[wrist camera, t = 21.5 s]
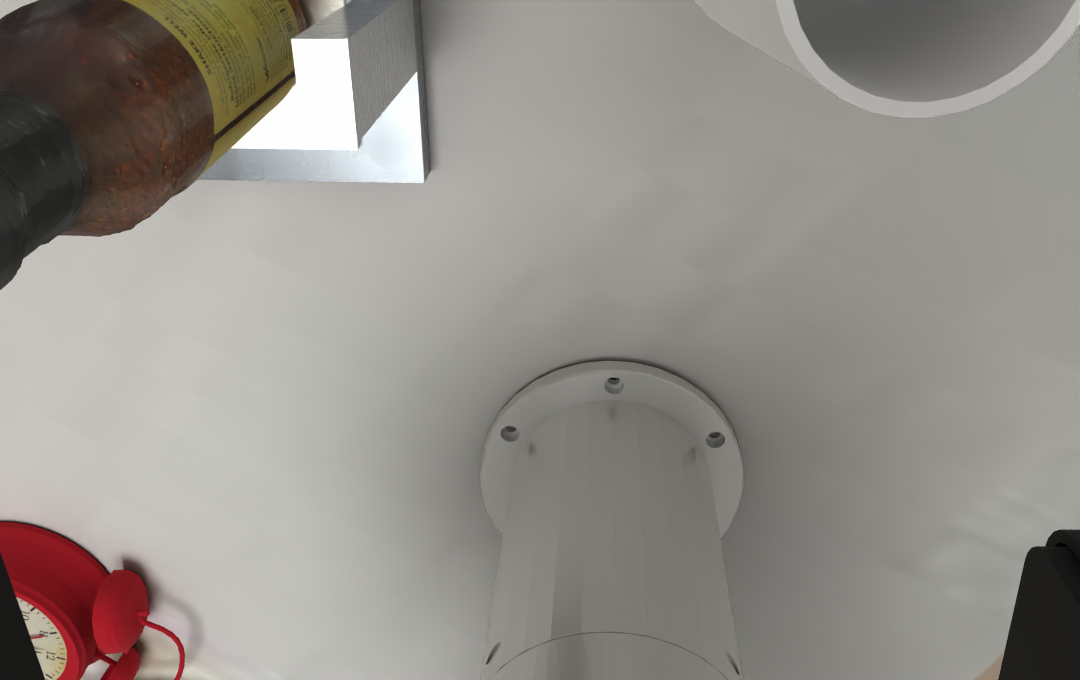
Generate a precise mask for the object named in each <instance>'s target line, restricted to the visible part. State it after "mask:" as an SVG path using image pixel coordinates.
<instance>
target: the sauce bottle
mask: <svg viewBox="0 0 1080 680" xmlns="http://www.w3.org/2000/svg"><path fill="white" fill-rule="evenodd" d="M306 29H307V22H306V20H305V17H304V15H303V11H302V9H301V6H300V3H299V0H38V1H36V2H33V3H30V4H28V5H25V6H22V7H20V8H18V9H17V10H15V11H13V12H11V13H9V14H7V15H5V16H4V17H3V18H1V19H0V290H1V289H2V288H3V287H5V286H6V285H7V284H8V283H9V282H10V281H11V280H12V279H13V278H14V276H15V275H16V273H17V270H18V269H19V268H20V267H21V264H22V260H23V258H24V257H26V256H27V255H29V254H30V253H31V252H33V251H34V250H35V249H37V248H38V247H39V246H40V245H43V244H46V243H49V242H50V241H51V240H52V239H54V238H55V237H56V236H58V235H72V236H95V237H101V236H104V235H111V234H115V233H120V232H122V231H126V230H131V229H132V228H134V227H135V225H137V224H138V223H140V222H141V221H143V220H145V219H147V218H149V217H150V216H151V215H152V214H154V213H155V212H156V211H157V210H158V209H159V208H160V207H161V206H163V205H164V204H165V203H166V202H167V201H168V200H169V199H170V198H172V197H173V196H175V195H177V194H179V193H180V192H182V191H184V190H185V189H186V188H188V187H189V186H190V185H191V184H193V183H194V182H195V181H196V180H197V179H198V178H199V177H200V176H201V175H202V174H203V173H205V172H206V171H207V170H208V169H209V168H210V167H211V166H212V165H213V164H214V163H215V162H217V161H218V160H219V159H220V158H221V157H222V156H223V155H224V154H225V153H226V152H227V151H228V150H229V149H231V148H232V147H233V146H234V145H235V144H236V143H237V142H238V141H239V140H240V139H241V138H242V137H244V136H245V135H246V134H247V133H248V132H249V131H250V130H251V129H252V128H253V127H254V126H255V125H256V124H258V123H259V122H260V121H261V120H262V119H263V118H264V117H265V116H266V115H267V114H268V113H269V112H271V111H272V110H273V109H274V108H275V107H276V106H277V105H278V104H279V103H280V102H281V101H282V100H283V99H284V98H285V97H286V96H287V94H288V93H289V92H290V90H291V89H292V87H293V85H294V83H295V81H296V73H295V65H294V56H293V48H292V40H291V39H292V38H294V37H295V36H297V35H299V34H300V33H302V32H303V31H305V30H306Z"/></svg>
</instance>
